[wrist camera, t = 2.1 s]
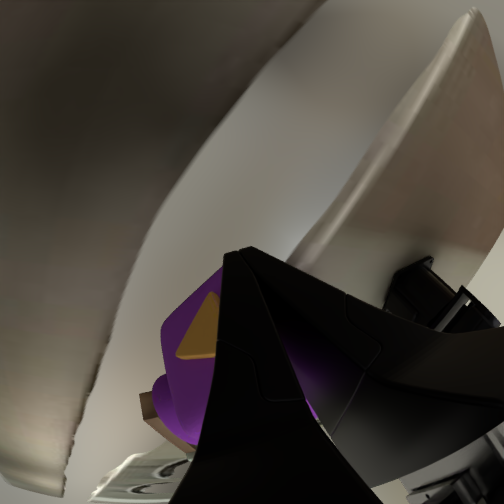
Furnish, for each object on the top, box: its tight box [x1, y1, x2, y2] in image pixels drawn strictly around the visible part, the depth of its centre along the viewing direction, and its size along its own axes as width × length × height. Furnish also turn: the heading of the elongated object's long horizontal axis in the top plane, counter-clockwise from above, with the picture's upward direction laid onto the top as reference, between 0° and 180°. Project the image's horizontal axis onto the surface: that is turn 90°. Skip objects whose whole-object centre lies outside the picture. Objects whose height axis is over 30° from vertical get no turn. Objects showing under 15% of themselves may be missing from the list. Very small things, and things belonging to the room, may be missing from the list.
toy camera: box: [152, 266, 318, 445], centre depth 18 cm, size 11×14×10 cm
